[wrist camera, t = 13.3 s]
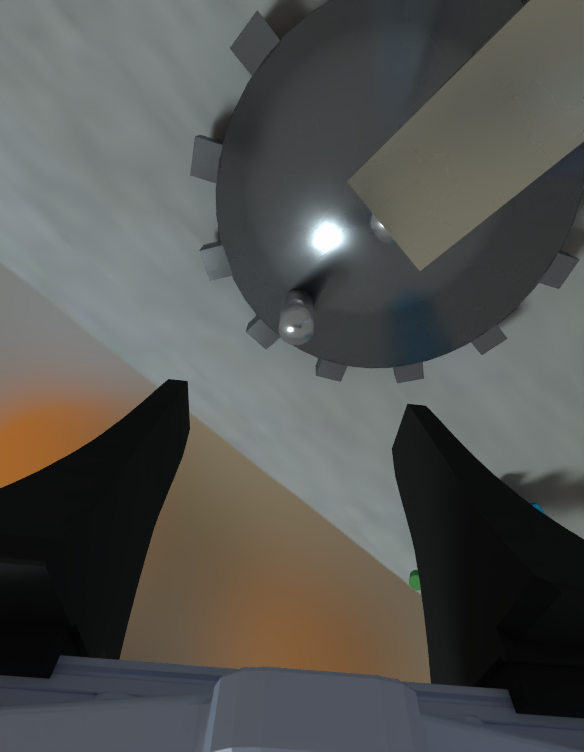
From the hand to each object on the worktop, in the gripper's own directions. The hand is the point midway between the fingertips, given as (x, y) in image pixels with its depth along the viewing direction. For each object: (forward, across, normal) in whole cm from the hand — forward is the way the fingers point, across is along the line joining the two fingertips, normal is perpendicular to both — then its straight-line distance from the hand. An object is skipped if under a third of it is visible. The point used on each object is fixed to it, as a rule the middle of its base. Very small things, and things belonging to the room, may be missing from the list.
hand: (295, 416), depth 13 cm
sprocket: (+10, -4, -5) cm, 12 cm away
